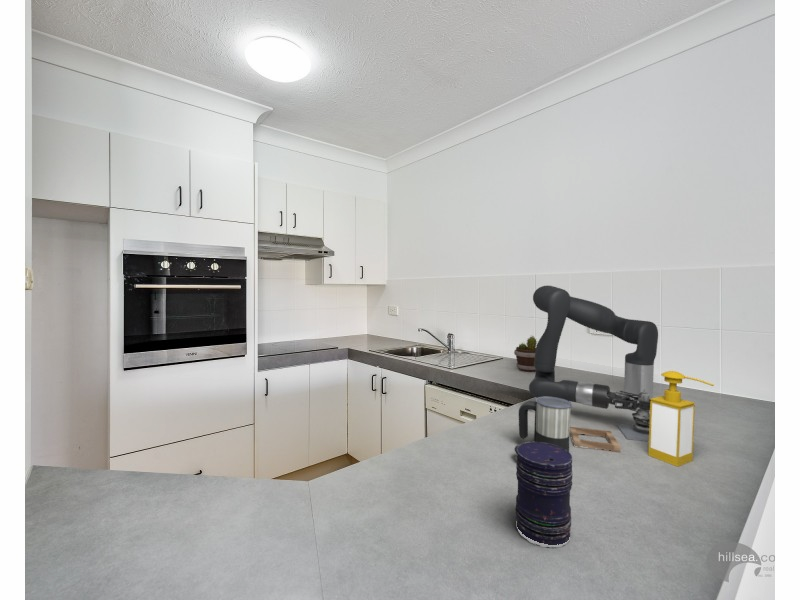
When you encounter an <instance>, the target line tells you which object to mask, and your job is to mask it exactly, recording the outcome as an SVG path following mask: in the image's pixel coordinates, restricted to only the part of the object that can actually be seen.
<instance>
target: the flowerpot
mask: <svg viewBox="0 0 800 600" xmlns="http://www.w3.org/2000/svg"><path fill="white" fill-rule="evenodd" d="M537 343H538V340H537V338H535V336H534V334H532V335H530V336H529V337H528V338H526V342H524V341H522V342H520V343H519V344H518V346H516V347H515V349H514V352H513V353H514V355H515V357H516V358H515V359H516V361H517V362H516V367H517V369H518V370H519V371H520V372H521V371H522V372H528V373H529V372H531V373H532V372H535V373H536V369H535V367H534V359H535V351H536V346H537Z"/></svg>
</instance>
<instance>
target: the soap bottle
mask: <svg viewBox="0 0 800 600" xmlns="http://www.w3.org/2000/svg"><path fill="white" fill-rule="evenodd" d="M660 375H661V376H662V377H663V378H664V379H663V380H664V382H665V383H666V382H667V383H668V384H669V388H667V389H664V395H661V396H657V397H653V398H652V399H650V400H651V401H650V411H649V413H650V425H649V442H648V452H647V453H648V456H649V457H652V458H655V459H657V460H659V461H662V462H665V463H667V464H670V465H673V466H675V467H681V466H682V465H685V464H688V463H691V462H693V461H694V459H693V458H694V436H695V435H694V433H695V411H696V409H695V408H696V402H695V401H690V400H686V399H682V391H680V390H677V387H678V386H677V384H682V383H683V380H684V379H687V380H692V381H697V382H700V383H703V384H706V385H709V386H711V387H714V386H715V384H714V383H711V382H708V381H705V380H701V379H698V378H694V377H690V376H686V375H684V374H683V373H681V372H679V371H676V370H675V371H674V370H668V371H664V372H662V373H661V374H660Z"/></svg>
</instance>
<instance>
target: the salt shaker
mask: <svg viewBox="0 0 800 600" xmlns="http://www.w3.org/2000/svg"><path fill="white" fill-rule="evenodd" d="M649 397H650V396H649V394H648V393H646V392H645V389H644V390H643V392H640V393H639V398H638V400H639V401H645V402H649ZM631 415H632V419H633V421H634V422H635V423H632V424H631V425H632V426H633V427H635V428H637V429H640V430H646V431H649V426H650V411H649V410H646V409H641V408H640V409H638V410H637V411H636V412H632V413H631Z"/></svg>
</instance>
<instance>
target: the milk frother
mask: <svg viewBox="0 0 800 600" xmlns="http://www.w3.org/2000/svg"><path fill="white" fill-rule="evenodd" d="M572 407H573V403H572V402H571V401H567V400H564V399H561V398H556V397H538V398H536V397H535V401H532V400H529V401H525V402H524V403H522V405H520V407H519V409H518V432H519V438H520V439H522V440H525V439H527V438H528V436H529V425H528V424H529V420H528V419H529V418H528V417H529V413H528V411H530V410H531V411H534V431H533V433H534V435H533V442H542V443H548V444H553V445H556V446H559V447H561V448H563V449H565V450H567V451H568V452H569V453H570V427H571V412H572V411H571V408H572ZM519 445H520V444H519ZM519 445H515V447H514V452H515V454H516V455H517V448H518V446H519Z"/></svg>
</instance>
